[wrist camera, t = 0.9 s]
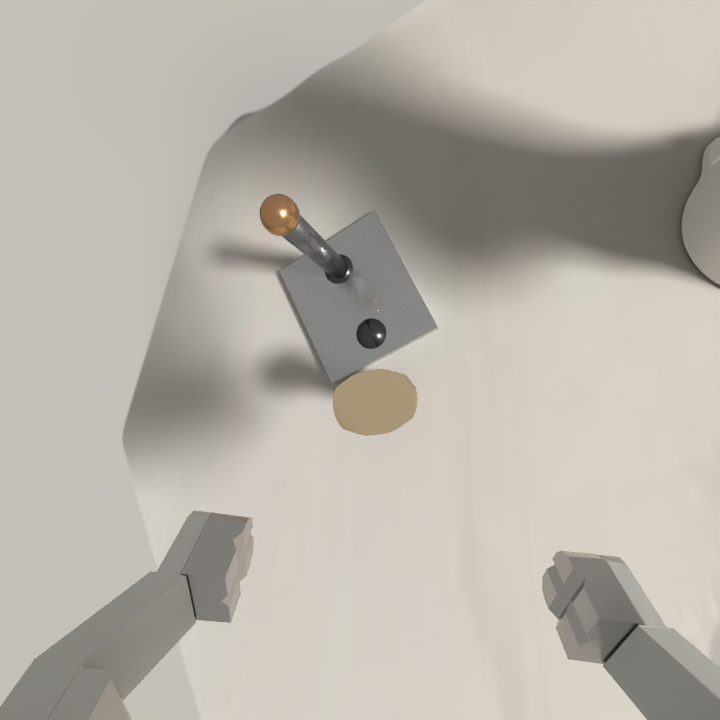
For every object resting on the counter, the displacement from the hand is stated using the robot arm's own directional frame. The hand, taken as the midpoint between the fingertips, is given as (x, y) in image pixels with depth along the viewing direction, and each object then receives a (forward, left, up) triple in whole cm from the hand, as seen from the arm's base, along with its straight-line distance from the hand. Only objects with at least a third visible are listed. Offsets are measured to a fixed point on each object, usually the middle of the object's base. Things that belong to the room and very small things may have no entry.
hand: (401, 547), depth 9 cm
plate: (+3, -18, -31) cm, 36 cm away
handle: (+3, -5, -32) cm, 32 cm away
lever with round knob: (+3, -22, -30) cm, 37 cm away
